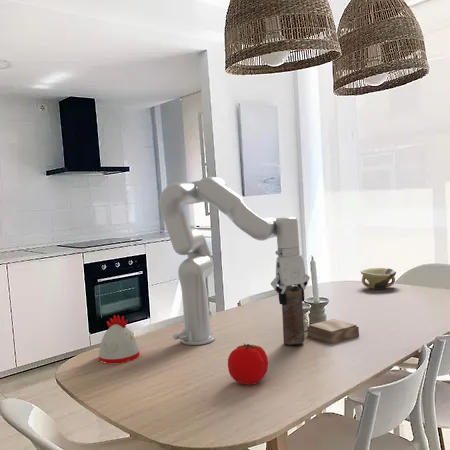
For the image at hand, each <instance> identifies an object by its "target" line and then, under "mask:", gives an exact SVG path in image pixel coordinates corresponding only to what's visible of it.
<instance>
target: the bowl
mask: <svg viewBox="0 0 450 450" xmlns="http://www.w3.org/2000/svg"><path fill="white" fill-rule="evenodd" d="M360 274H361V275H362V278H361V283H362V285H363V286H364V287H366V288H368V289H373V290H385V289H386V288H389V287H391V286H394V284H395V282H396V277H395V276H396V274H397V271H396V270H395V269H391V268H386V267H375V268H366V269H365V268H364V269H361V270H360ZM366 280H367V282H368V283H367V282H366ZM390 281H391V282H390Z"/></svg>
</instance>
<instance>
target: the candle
mask: <svg viewBox="0 0 450 450" xmlns="http://www.w3.org/2000/svg"><path fill="white" fill-rule="evenodd" d="M284 293H285V294H286V305H282V304H281V312H282V313H281V314H282V336H283V338H282V339H283V344H285V345H290V346H291V345H292V346H296V345H297V346H298V345H301V344H302V343H304V342H305V339H306V338H305V323H304V310H303V301H302V289H301V288H300V287H297V285H293V286H286V289H285V292H284Z"/></svg>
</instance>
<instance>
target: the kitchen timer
mask: <svg viewBox="0 0 450 450" xmlns="http://www.w3.org/2000/svg"><path fill="white" fill-rule="evenodd" d="M127 323H128V319H125V316H124V315H122V316H121V317H120V315H119V314H118V315H117V316H116V315H115V314H114V315H113V316H112V318H111V317H110V318H109V320H107V321H106V325H107V327H108V329H107V330H106V331H105V332H104V335H103V336H102V339H101V340H100V341H101V342H100V347H99V354H98V355H99V357H98V358H99V362H100V361H102V362H106V363H119V364H123V363H122V362H125V363H128V362H127V361H129V362H131V361H130V360H132V361H134V360H136V359H137V357H138V358H139V357H140V356H141V355H140V354H141V353H140V347H139V346H140V345H139V343H138V341H137V338H136V336H135V334H134V333H133V331H132V330H131V329H130V328H129V327H127ZM139 355H140V356H139ZM133 359H134V360H133ZM102 362H101V363H102Z"/></svg>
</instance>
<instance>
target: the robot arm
mask: <svg viewBox="0 0 450 450" xmlns="http://www.w3.org/2000/svg"><path fill="white" fill-rule="evenodd" d="M204 202H207V203H208V204H210V205H211V206H213V207H214V208H216V209H217V210H218V211H219V212H221V213H222V214H224V215H226V216H227V218H228V219H229V220H230V221H231V222H232V223H233V224H234V225H235V227H237V228H239V229H240V230H241V231H242V232H244V233H245V234H247V235H248V236H250V237H251V238H252V239H255V240H257V241H261V242H262V241H266V240H269V239H271V238H276V244H277V250H275V252H274V253H275V255H276V256H277V257H276V262H275V277H274V279H272V281H271V282H270V286H271V287H272V288H273V290H275V292H276V294H277V293H278V302H279V304H280V305H281V306H282V305H286V294H285V293H284V292H285V289H286V286H297V287H300V288H301V289H302V302H305V290H306V287H307V285H308V283H309V281H310V278H311V277H310V276H309V275H308V274H307V273H306V268H305V261H304V258H303V256H302V255H301V254H300V239H299V224H298V218H297V217H295V216H283V217H270V216H269V217H261V216H259V215H258V214H256V213H255V212H253V211H252V210H251V209H250V208H249V207H248V206H247V205H246V204H245V203H244V200H243V197H242V196H241V195H239V194H238V193H236V192H235V191H234V190H232V189H231V188H229V187H227V184H226V182H225V181H224V180H223V179H222V178H221V177H219V176H218V177H217V176H205V177H202V178H201V179H200V180H196V181H189V182H187V181H186V182H183V181H182V182H180V181H179V182H173V183H169V185H167V186H166V187H165V188H164V189H163V190H162V192H161V194H160V196H159V203H158V205H159V211H160V213H161V217H162V218H163V221H164V224H165V227H166V228H165V229H166V230H167V234H168V236H169V239H170V243H171V245H172V248H173V250H174V252H175V253H176V254H177V255H180V256H187V258H186V259H184V260H183V261H182V262H181V263H180V264H179V266H178V269H177V270H178V271H177V273H178V281H179V284H180V289H181V296H182V297H181V299H182V307H183V308H182V309H183V320H184V321H183V323H184V329H182V332H180V333H175V334H173V335H172V337H173V340H174V341H175V340H180V341H181V342H182V344H184V345H187V346H200V345H205V344H209V343H212V342H214V341H215V339H216V336H215V334H213V333H211V323H210V322H211V321H210V309H209V296H208V290H207V284H206V282H205V279H207V278H208V277H210V276H211V275H212V273H213V272H214V268H215V267H214V260H213V257H212V255H211V251H210V249H209V246H208V242H207V241H206V237H205V236H204V234H203V232H201V231H200V230H199V229H197V228H193V227H191V226H190V223H189V219H188V217H187V215H186V213H185V212H184V210H183V208H182V206H185V205H186V206H187V205H193V204H199V203H204Z"/></svg>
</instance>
